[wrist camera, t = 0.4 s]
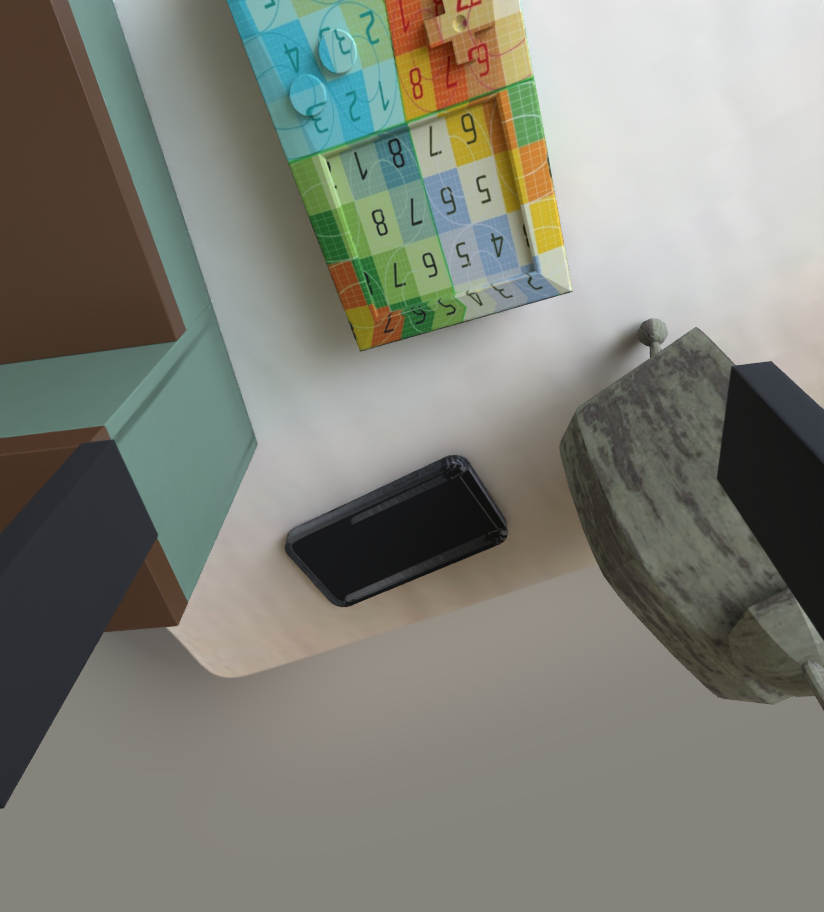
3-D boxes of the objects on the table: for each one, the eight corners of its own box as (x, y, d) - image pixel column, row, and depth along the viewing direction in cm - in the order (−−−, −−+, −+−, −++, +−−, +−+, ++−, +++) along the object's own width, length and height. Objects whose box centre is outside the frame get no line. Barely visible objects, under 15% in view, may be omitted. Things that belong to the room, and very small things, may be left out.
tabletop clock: (772, 446, 42) (1112, 850, 21) (650, 516, 45) (836, 924, 24) (658, 283, 36) (968, 612, 15) (529, 377, 40) (636, 752, 19)
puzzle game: (479, -244, 22) (576, 297, 32) (472, -200, 26) (560, 270, 36) (178, -109, 24) (358, 358, 34) (214, -87, 28) (366, 326, 38)
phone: (513, 538, 45) (338, 611, 49) (511, 528, 46) (340, 600, 50) (460, 457, 42) (277, 543, 46) (460, 448, 42) (280, 533, 47)
